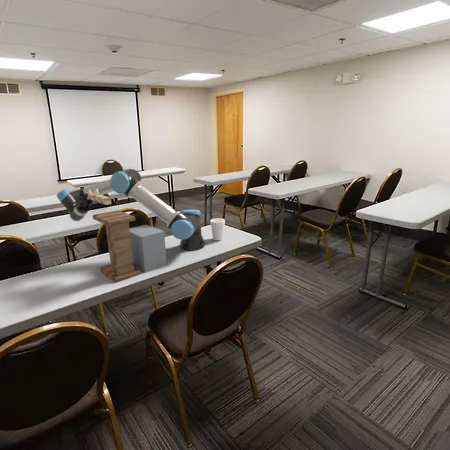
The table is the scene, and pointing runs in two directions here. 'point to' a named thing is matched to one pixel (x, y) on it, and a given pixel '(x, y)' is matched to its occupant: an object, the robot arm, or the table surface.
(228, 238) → the table surface
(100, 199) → the notched tan bar
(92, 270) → the table surface
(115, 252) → the walnut stand
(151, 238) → the grey block
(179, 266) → the table surface
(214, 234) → the foam cup
